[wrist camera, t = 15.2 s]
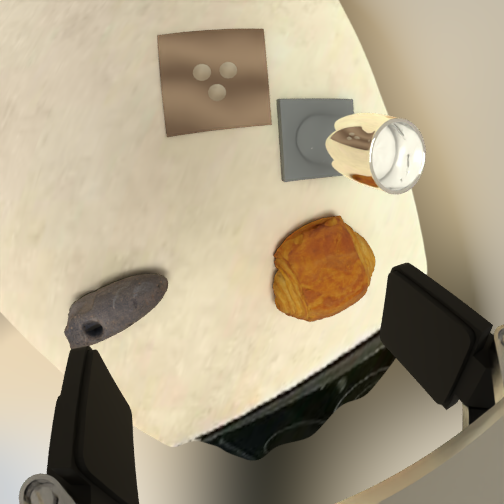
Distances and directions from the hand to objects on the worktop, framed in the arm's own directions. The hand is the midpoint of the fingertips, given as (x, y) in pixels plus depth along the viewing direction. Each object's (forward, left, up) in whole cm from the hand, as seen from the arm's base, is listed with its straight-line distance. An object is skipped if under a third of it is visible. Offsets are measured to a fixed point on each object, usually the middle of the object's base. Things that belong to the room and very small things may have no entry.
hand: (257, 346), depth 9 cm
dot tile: (-11, +5, -29) cm, 32 cm away
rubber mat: (-3, +17, -29) cm, 34 cm away
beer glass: (-3, +17, -29) cm, 33 cm away
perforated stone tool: (+13, -11, -30) cm, 34 cm away
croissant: (+15, +17, -30) cm, 37 cm away
